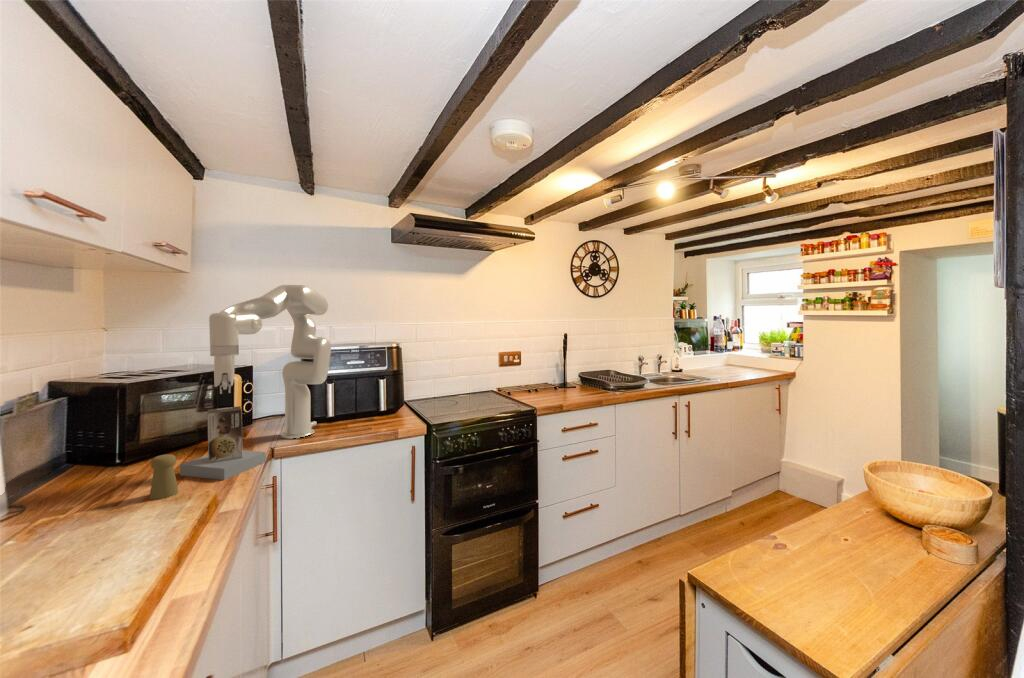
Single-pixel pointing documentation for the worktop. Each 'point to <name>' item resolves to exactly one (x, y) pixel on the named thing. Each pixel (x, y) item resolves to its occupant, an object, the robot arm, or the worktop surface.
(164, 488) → the olive pepper mill
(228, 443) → the coffee box
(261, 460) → the podium
